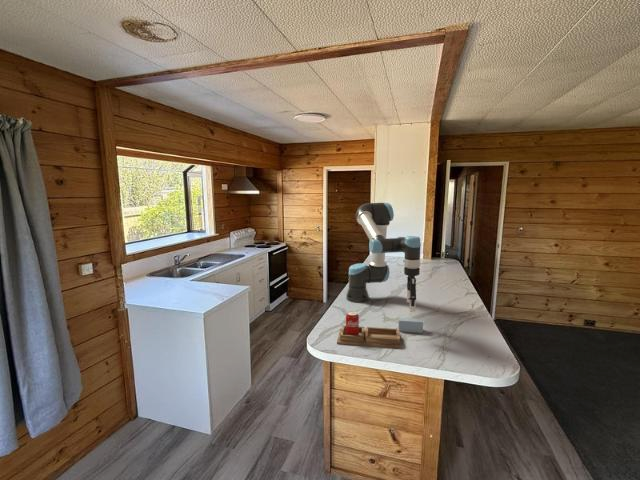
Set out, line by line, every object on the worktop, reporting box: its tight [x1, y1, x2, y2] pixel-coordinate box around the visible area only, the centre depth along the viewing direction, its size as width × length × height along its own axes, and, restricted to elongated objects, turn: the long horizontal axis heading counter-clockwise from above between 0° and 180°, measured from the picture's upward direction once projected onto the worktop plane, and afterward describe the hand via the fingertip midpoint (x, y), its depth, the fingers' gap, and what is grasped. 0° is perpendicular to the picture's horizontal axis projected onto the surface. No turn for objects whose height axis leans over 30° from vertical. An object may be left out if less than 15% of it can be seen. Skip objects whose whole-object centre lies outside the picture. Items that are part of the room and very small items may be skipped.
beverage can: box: [345, 310, 360, 336], centre depth 156 cm, size 6×6×12 cm
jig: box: [336, 324, 402, 349], centre depth 155 cm, size 14×30×4 cm, turn 80°
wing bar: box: [397, 317, 424, 334], centre depth 164 cm, size 4×12×6 cm, turn 80°
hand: (410, 306), depth 162 cm, fingers open, 13 cm apart
